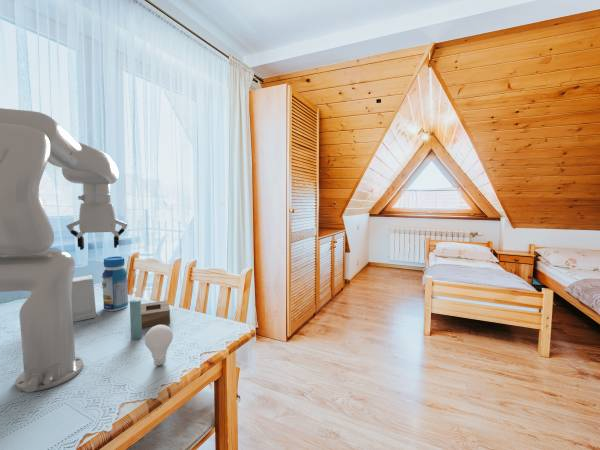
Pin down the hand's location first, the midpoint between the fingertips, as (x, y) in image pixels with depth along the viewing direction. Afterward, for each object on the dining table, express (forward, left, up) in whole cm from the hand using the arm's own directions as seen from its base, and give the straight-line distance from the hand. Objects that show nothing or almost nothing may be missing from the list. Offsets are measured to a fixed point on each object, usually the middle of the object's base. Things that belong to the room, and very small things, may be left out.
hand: (99, 248), depth 99 cm
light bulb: (-40, -17, -26) cm, 50 cm away
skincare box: (+3, +7, -26) cm, 27 cm away
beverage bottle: (+9, -3, -26) cm, 28 cm away
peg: (-21, -11, -26) cm, 35 cm away
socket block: (-10, -16, -26) cm, 32 cm away
